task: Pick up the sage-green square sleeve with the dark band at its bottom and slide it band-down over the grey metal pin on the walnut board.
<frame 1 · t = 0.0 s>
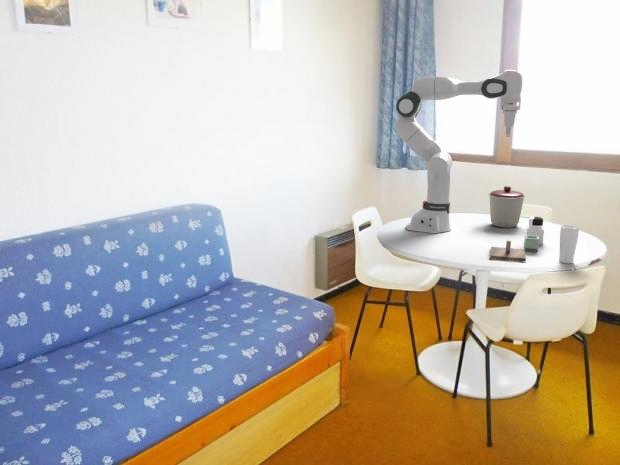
hand: (507, 135, 265), 48 cm above the table, tool pointing down, fingers open, 8 cm apart
sleeve: (530, 250, 250), on the table
drinking glass: (565, 262, 233), on the table
medicine bottle: (533, 242, 262), on the table
canister: (504, 226, 294), on the table
pin board: (507, 255, 242), on the table
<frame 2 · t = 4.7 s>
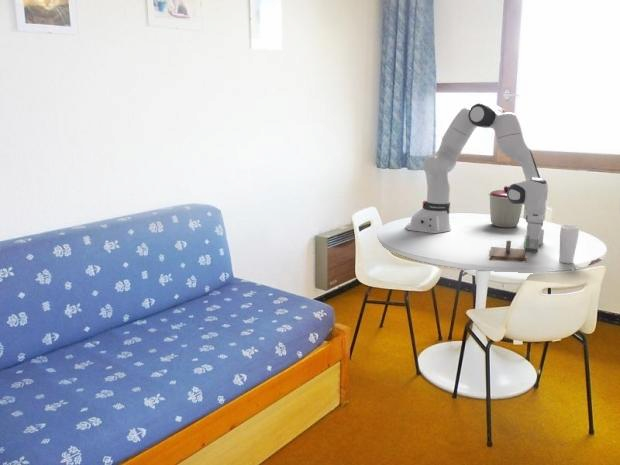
hand: (531, 245, 249), 2 cm above the table, tool pointing down, fingers closed on sleeve, 5 cm apart
sleeve: (530, 250, 250), on the table, touching gripper
everything else where it was.
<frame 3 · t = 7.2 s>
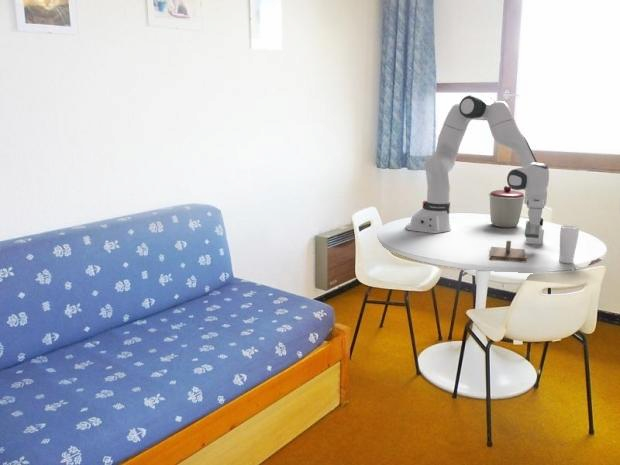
hand: (532, 231, 248), 9 cm above the table, tool pointing down, fingers closed on sleeve, 5 cm apart
sleeve: (531, 236, 248), point 6 cm above the table, touching gripper
everything else where it was.
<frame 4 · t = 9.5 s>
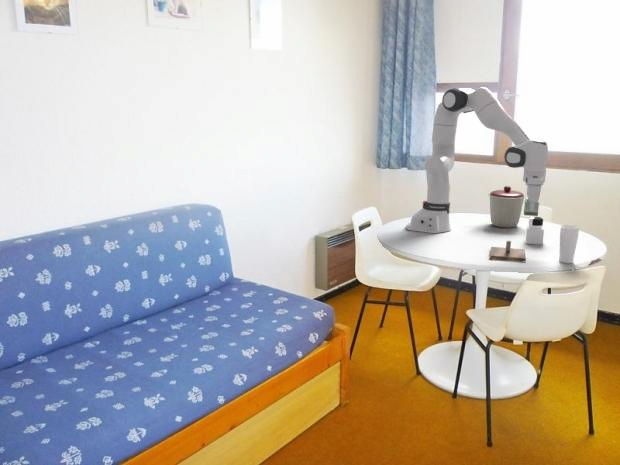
hand: (531, 209, 244), 19 cm above the table, tool pointing down, fingers closed on sleeve, 5 cm apart
sleeve: (530, 214, 244), point 17 cm above the table, touching gripper
everything else where it was.
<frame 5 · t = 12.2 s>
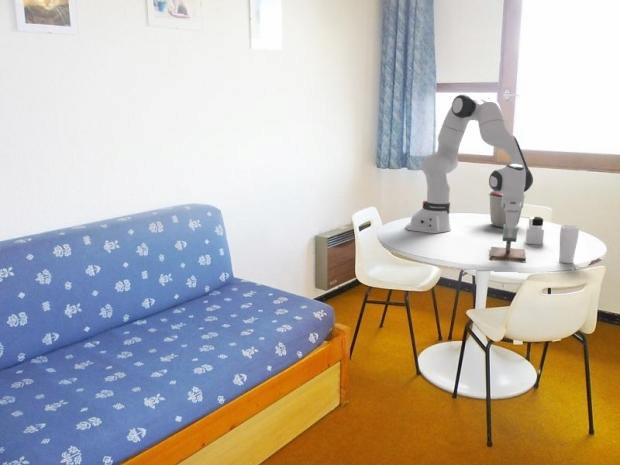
hand: (509, 234, 239), 9 cm above the table, tool pointing down, fingers closed on sleeve, 5 cm apart
sleeve: (509, 239, 240), point 7 cm above the table, touching gripper
everything else where it was.
when the fingers open (5 cm above the table, at t = 14.3 s): sleeve drops 2 cm, resting on pin board.
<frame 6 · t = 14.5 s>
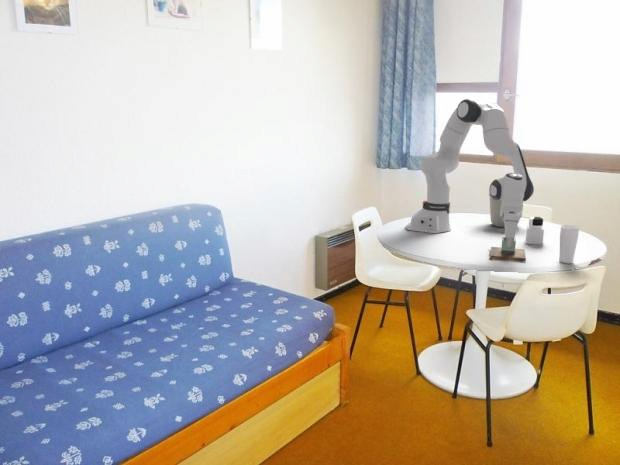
hand: (508, 243, 240), 5 cm above the table, tool pointing down, fingers open, 7 cm apart
sleeve: (507, 252, 241), point 1 cm above the table, touching pin board
everything else where it was.
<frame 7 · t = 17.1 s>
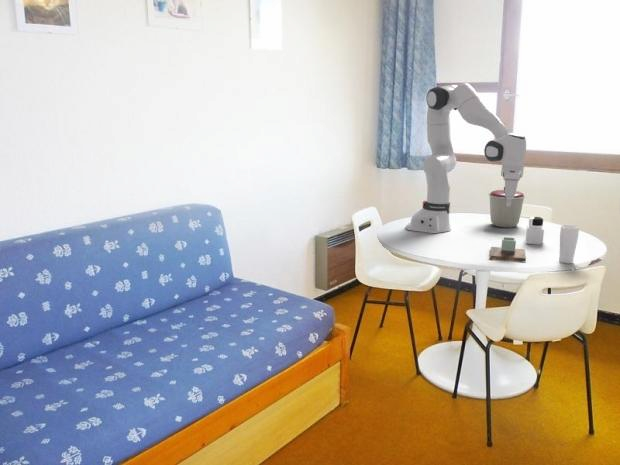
hand: (508, 204, 242), 22 cm above the table, tool pointing down, fingers open, 8 cm apart
nothing on the table moved.
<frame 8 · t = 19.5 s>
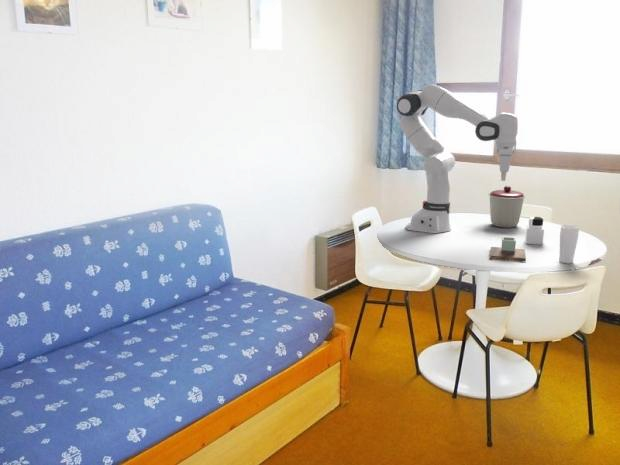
hand: (503, 179, 259), 29 cm above the table, tool pointing down, fingers open, 8 cm apart
nothing on the table moved.
at the end: sleeve 0.1 cm off-centre on the pin board, point 1.5 cm above the pin board's base; sleeve tilted 0°; the gripper is holding nothing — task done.
